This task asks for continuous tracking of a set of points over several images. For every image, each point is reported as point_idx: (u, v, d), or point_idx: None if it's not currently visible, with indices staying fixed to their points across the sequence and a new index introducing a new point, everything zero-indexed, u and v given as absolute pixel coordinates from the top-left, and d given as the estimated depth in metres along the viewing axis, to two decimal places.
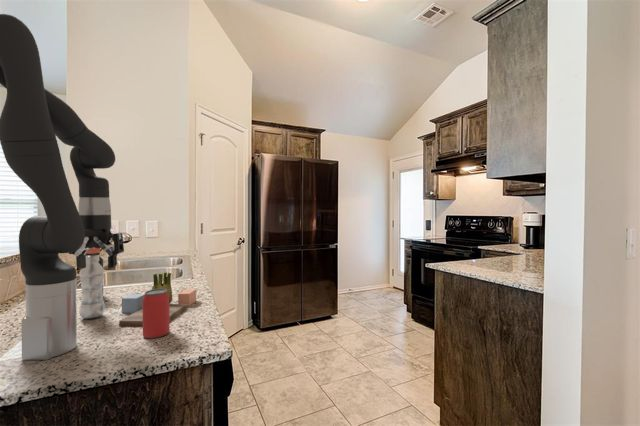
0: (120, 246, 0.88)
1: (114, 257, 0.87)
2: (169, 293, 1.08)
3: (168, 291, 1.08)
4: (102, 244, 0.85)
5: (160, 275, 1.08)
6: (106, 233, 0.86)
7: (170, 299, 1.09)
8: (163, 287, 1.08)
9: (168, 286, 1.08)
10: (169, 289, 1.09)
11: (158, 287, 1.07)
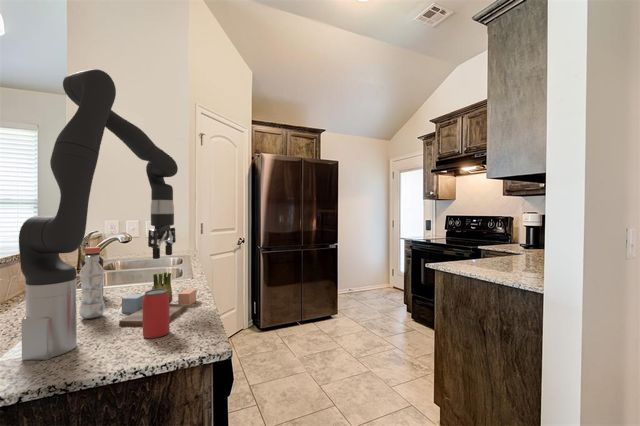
0: None
1: None
2: (169, 293, 1.08)
3: (168, 291, 1.08)
4: (171, 236, 1.12)
5: (160, 275, 1.08)
6: None
7: (170, 299, 1.09)
8: (163, 287, 1.08)
9: (168, 286, 1.08)
10: (169, 289, 1.09)
11: (158, 287, 1.07)
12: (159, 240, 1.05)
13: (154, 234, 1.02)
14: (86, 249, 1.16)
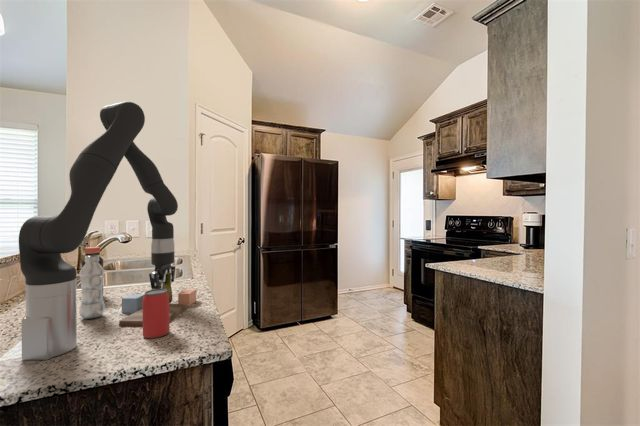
0: None
1: None
2: (169, 293, 1.08)
3: (168, 291, 1.08)
4: None
5: None
6: None
7: (170, 299, 1.09)
8: (163, 287, 1.08)
9: (168, 286, 1.08)
10: (169, 289, 1.09)
11: None
12: (161, 281, 1.06)
13: (155, 278, 1.02)
14: (86, 249, 1.16)
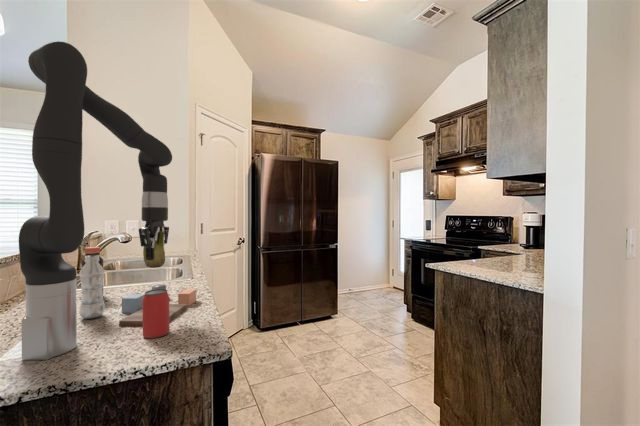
0: None
1: None
2: (161, 254, 0.96)
3: (160, 251, 0.96)
4: None
5: None
6: None
7: (162, 261, 0.96)
8: (155, 247, 0.96)
9: (161, 246, 0.96)
10: (161, 249, 0.96)
11: None
12: (152, 239, 0.94)
13: (145, 233, 0.90)
14: (86, 249, 1.16)
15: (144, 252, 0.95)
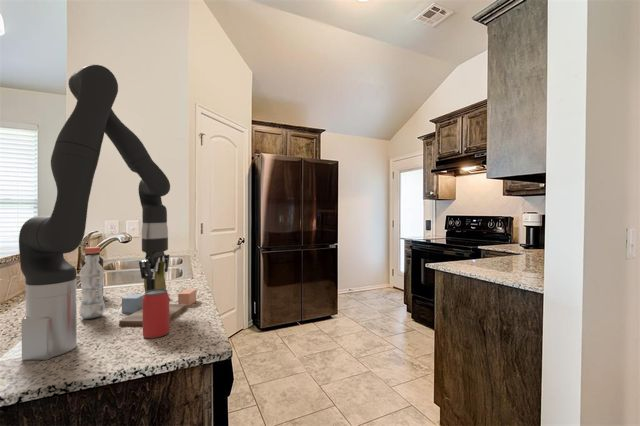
0: None
1: None
2: (162, 284, 0.96)
3: (161, 282, 0.96)
4: (164, 263, 0.99)
5: None
6: None
7: None
8: (155, 277, 0.96)
9: (161, 276, 0.97)
10: (162, 279, 0.97)
11: None
12: (153, 270, 0.94)
13: (146, 266, 0.90)
14: (86, 249, 1.16)
15: (145, 283, 0.95)
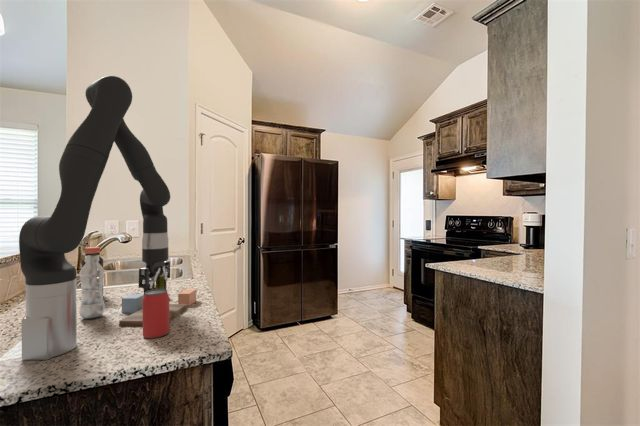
0: None
1: None
2: None
3: None
4: (165, 272, 1.00)
5: None
6: (164, 262, 1.00)
7: None
8: None
9: None
10: None
11: None
12: (151, 279, 0.93)
13: (145, 273, 0.90)
14: (86, 249, 1.16)
15: None
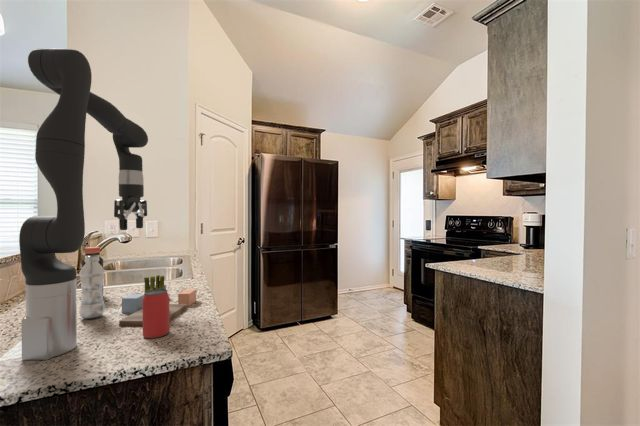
0: None
1: None
2: None
3: None
4: (141, 208, 1.09)
5: (152, 278, 0.95)
6: (140, 200, 1.10)
7: None
8: None
9: None
10: None
11: None
12: (126, 211, 1.02)
13: (120, 204, 0.99)
14: (86, 249, 1.16)
15: None
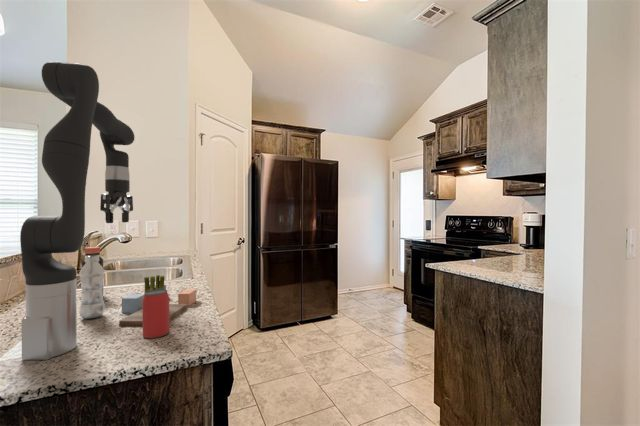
0: None
1: None
2: None
3: None
4: (127, 203, 1.14)
5: (152, 278, 0.95)
6: (126, 195, 1.14)
7: None
8: None
9: None
10: None
11: None
12: (112, 205, 1.07)
13: (106, 198, 1.04)
14: (86, 249, 1.16)
15: None
